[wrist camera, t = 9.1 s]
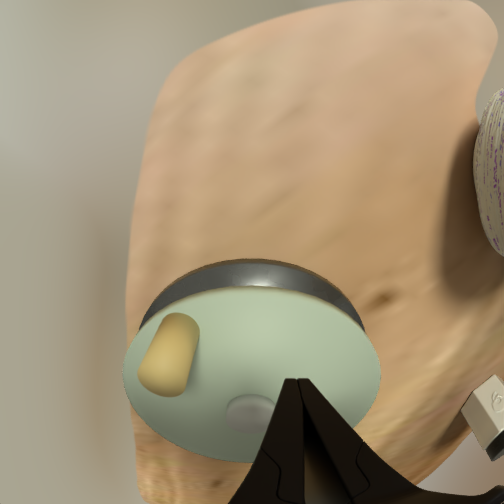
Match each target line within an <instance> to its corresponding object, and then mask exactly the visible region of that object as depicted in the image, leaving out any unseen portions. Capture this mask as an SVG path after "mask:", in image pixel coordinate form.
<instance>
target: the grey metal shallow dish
mask: <svg viewBox="0 0 504 504" xmlns="http://www.w3.org/2000/svg"><path fill="white" fill-rule="evenodd" d="M250 285H254V286H270V287H279V288H284V289H290V290H296V291H299V292H302V293H306V294H309V295H312V296H316V297H318V298H320V299H322V300H324V301H327V302H329V303H331V304H333V305H335V306H336V307H338V308H339V309H341V310H342V311H344V312H346V313H347V314H348V315H349V316H350V317H351V318H353V319H354V320H355V321H356V322H357V323H358V324H359V325H360V327H361V328H362V329H363V330H364V332H365V329H364V326H363V324H362V321H361V319H360V317H359V315H358V313H357V312H356V310H355V308H354V307H353V305H352V304H351V302H350V301H349V299H348V298H347V297H346V296H345V295H344V294H343V293H342V292H341V291H340V290H339V289H338V288H337V287H336V286H335V285H333V284H332V283H331V282H329V281H328V280H327V279H325V278H323V277H321V276H320V275H318V274H316V273H314V272H312V271H310V270H307V269H305V268H302V267H300V266H297V265H293V264H289V263H285V262H281V261H276V260H267V259H235V260H227V261H221V262H217V263H213V264H209V265H206V266H203V267H201V268H198V269H196V270H193V271H191V272H189V273H187V274H185V275H183V276H182V277H180V278H178V279H176V280H175V281H174V282H172V283H171V284H170V285H169V286H167V287H166V288H165V289H164V290H163V291H162V292H161V293H160V294H159V295H158V296H157V297H156V299H155V300H154V301H153V303H152V305H151V306H150V308H149V309H148V311H147V312H146V314H145V316H144V318H143V320H142V323H141V325H140V328H139V330H140V329H141V327H142V326H143V325H144V324H145V323H146V321H147V320H149V319H150V318H151V317H152V316H153V315H154V314H156V313H157V312H158V311H160V310H161V309H163V308H164V307H166V306H168V305H169V304H171V303H173V302H175V301H177V300H180V299H182V298H184V297H187V296H189V295H192V294H196V293H199V292H203V291H206V290H211V289H217V288H223V287H230V286H250Z"/></svg>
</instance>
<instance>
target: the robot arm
mask: <svg viewBox="0 0 504 504" xmlns="http://www.w3.org/2000/svg"><path fill="white" fill-rule="evenodd" d="M503 501H504V486H501V485H497V486H495V487H494V488H492V489H491V490H489V491H488V492H486V493H484V494H481V495H476V496H466V495H455V494H446V493H439V492H433V491H427V490H424V489H421V488H419V487H417V486H415V485H414V484H412V483H411V482H409V481H408V480H407V479H406V478H404V477H403V476H402V475H400V474H399V473H398V472H397V471H395V470H394V469H393V468H392V467H390V466H389V465H388V464H387V463H386V462H385V461H383V460H382V459H381V458H380V457H379V456H378V455H377V454H376V453H375V452H374V451H373V450H372V449H371V448H370V447H369V446H368V445H367V444H366V443H365V442H363V439H362V438H361V437H360V436H359V435H358V434H357V433H356V432H355V431H354V430H353V428H352V427H351V426H350V425H349V424H348V423H347V422H346V421H345V419H344V418H343V417H342V416H341V415H340V414H339V413H338V412H337V410H336V409H335V408H334V407H333V406H332V405H331V404H330V402H329V401H328V400H327V399H326V398H325V397H324V396H323V394H322V393H321V392H320V391H319V390H318V389H317V387H316V386H315V385H314V384H313V383H312V382H311V380H310V379H308V378H297V379H296V378H285V379H284V382H283V385H282V388H281V391H280V394H279V397H278V399H277V402H276V405H275V408H274V411H273V414H272V416H271V419H270V422H269V424H268V427H267V430H266V432H265V435H264V438H263V440H262V443H261V445H260V448H259V450H258V453H257V455H256V458H255V460H254V462H253V464H252V466H251V469H250V470H249V472H248V474H247V476H246V477H245V479H244V481H243V482H242V484H241V485H240V487H239V488H238V490H237V491H236V493H235V494H234V496H233V497H232V498H231V500H230V501H229V503H228V504H501V503H502V502H503ZM502 504H504V502H503V503H502Z"/></svg>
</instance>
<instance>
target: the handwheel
mask: <svg viewBox="0 0 504 504" xmlns="http://www.w3.org/2000/svg"><path fill="white" fill-rule="evenodd" d="M285 378H296V379H297V378H308V379H310V380H311V382H312V383H313V384H314V385H315V386H316V387H317V389H318V390H319V391H320V392H321V393H322V394H323V396H324V397H325V398H326V399H327V400H328V401H329V402H330V404H331V405H332V406H333V407H334V408H335V409H336V410H337V412H338V413H339V414H340V415H341V416H342V417H343V418H344V419H345V421H346V422H347V423H348V424H349V425H350V426H351V427H352V428H354V427H355V426H356V425H357V424H358V423H359V422H360V421H361V420H362V419H363V417H364V416H365V415H366V413H367V412H368V411H369V409H370V408H371V406H372V404H373V402H374V400H375V398H376V396H377V393H378V390H379V385H380V379H381V371H380V364H379V359H378V356H377V354H376V352H375V349H374V347H373V345H372V343H371V342H370V340H369V338H368V336H367V334H366V333H365V332H364V330H363V329H362V328H361V327H360V325H359V324H358V323H357V322H356V321H355V320H354V319H353V318H351V317H350V316H349V315H348V314H347V313H346V312H344V311H342V310H341V309H339V308H338V307H336V306H335V305H333V304H331V303H329V302H327V301H324V300H322V299H320V298H318V297H316V296H312V295H309V294H306V293H302V292H299V291H296V290H290V289H284V288H279V287H270V286H254V285H250V286H230V287H223V288H217V289H211V290H206V291H203V292H199V293H196V294H192V295H189V296H187V297H184V298H182V299H180V300H177V301H175V302H173V303H171V304H169V305H168V306H166V307H164V308H163V309H161V310H160V311H158V312H157V313H156V314H154V315H153V316H152V317H151V318H150V319H149V320H147V321H146V323H145V324H144V325H143V326H142V327H141V329H140V330H139V331H138V333H137V334H136V336H135V338H134V339H133V341H132V343H131V345H130V347H129V349H128V351H127V353H126V356H125V359H124V363H123V382H124V388H125V390H126V394H127V396H128V399H129V400H130V402H131V404H132V406H133V408H134V409H135V411H136V412H137V413H138V415H139V416H140V417H141V418H142V419H143V420H144V421H145V423H146V424H147V425H149V426H150V427H151V428H152V429H153V430H154V431H155V432H157V433H158V434H160V435H161V436H162V437H164V438H165V439H167V440H169V441H170V442H172V443H174V444H176V445H177V446H180V447H182V448H184V449H186V450H188V451H191V452H194V453H196V454H199V455H203V456H206V457H210V458H214V459H219V460H224V461H232V462H244V463H253V462H254V460H255V458H256V455H257V453H258V450H259V448H260V445H261V443H262V440H263V438H264V435H265V432H266V430H267V427H268V424H269V422H270V419H271V416H272V414H273V411H274V408H275V405H276V402H277V399H278V397H279V394H280V391H281V388H282V385H283V382H284V379H285Z"/></svg>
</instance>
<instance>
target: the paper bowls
mask: <svg viewBox="0 0 504 504" xmlns="http://www.w3.org/2000/svg"><path fill="white" fill-rule="evenodd" d="M473 176H474V184H475V189H476V193H477V201H478V207H479V213H480V218H481V223H482V226H483V229H484V231H485V234H486V237H487V239H488V240H489V242H490V244H491V245H492V247H493V248H494V250H495V251H497V252H498V253H499V254H500V255H502V256H503V257H504V88H503V89H500V90H499V91H497V92H496V93H495V94H494V95H493V96H492V98H491V99H490V100H489V102H488V104H487V106H486V108H485V110H484V113H483V117H482V120H481V124H480V129H479V133H478V136H477V139H476V143H475V148H474V157H473Z"/></svg>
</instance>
